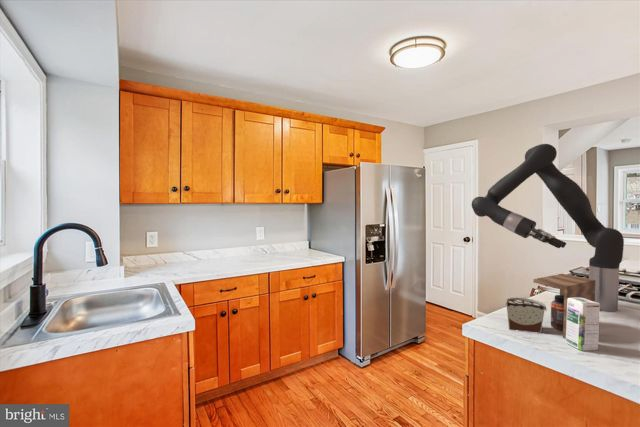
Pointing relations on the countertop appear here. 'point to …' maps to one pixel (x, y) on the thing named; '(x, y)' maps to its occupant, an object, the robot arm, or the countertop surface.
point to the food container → (525, 314)
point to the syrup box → (582, 323)
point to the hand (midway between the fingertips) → (563, 245)
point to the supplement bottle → (557, 312)
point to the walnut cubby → (570, 289)
